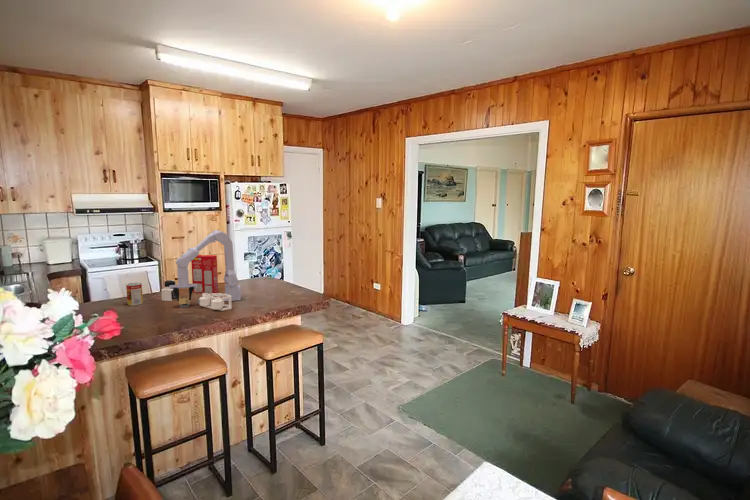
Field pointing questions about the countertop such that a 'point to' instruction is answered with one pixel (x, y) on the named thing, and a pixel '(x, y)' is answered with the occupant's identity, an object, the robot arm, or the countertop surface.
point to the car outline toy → (215, 301)
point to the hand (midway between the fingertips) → (184, 300)
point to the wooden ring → (184, 300)
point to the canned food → (134, 293)
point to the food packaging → (205, 274)
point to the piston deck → (184, 304)
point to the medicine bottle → (168, 291)
